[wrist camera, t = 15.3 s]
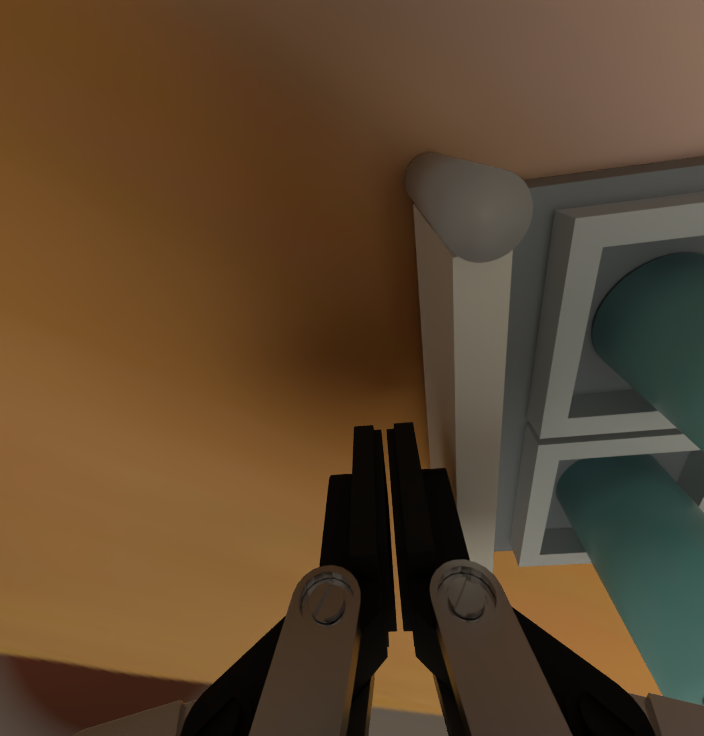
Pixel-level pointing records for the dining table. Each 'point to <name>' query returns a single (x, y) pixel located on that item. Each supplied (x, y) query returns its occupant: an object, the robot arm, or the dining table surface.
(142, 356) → the dining table surface
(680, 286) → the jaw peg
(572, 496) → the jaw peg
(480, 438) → the cover flap
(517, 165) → the dining table surface
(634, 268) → the housing
